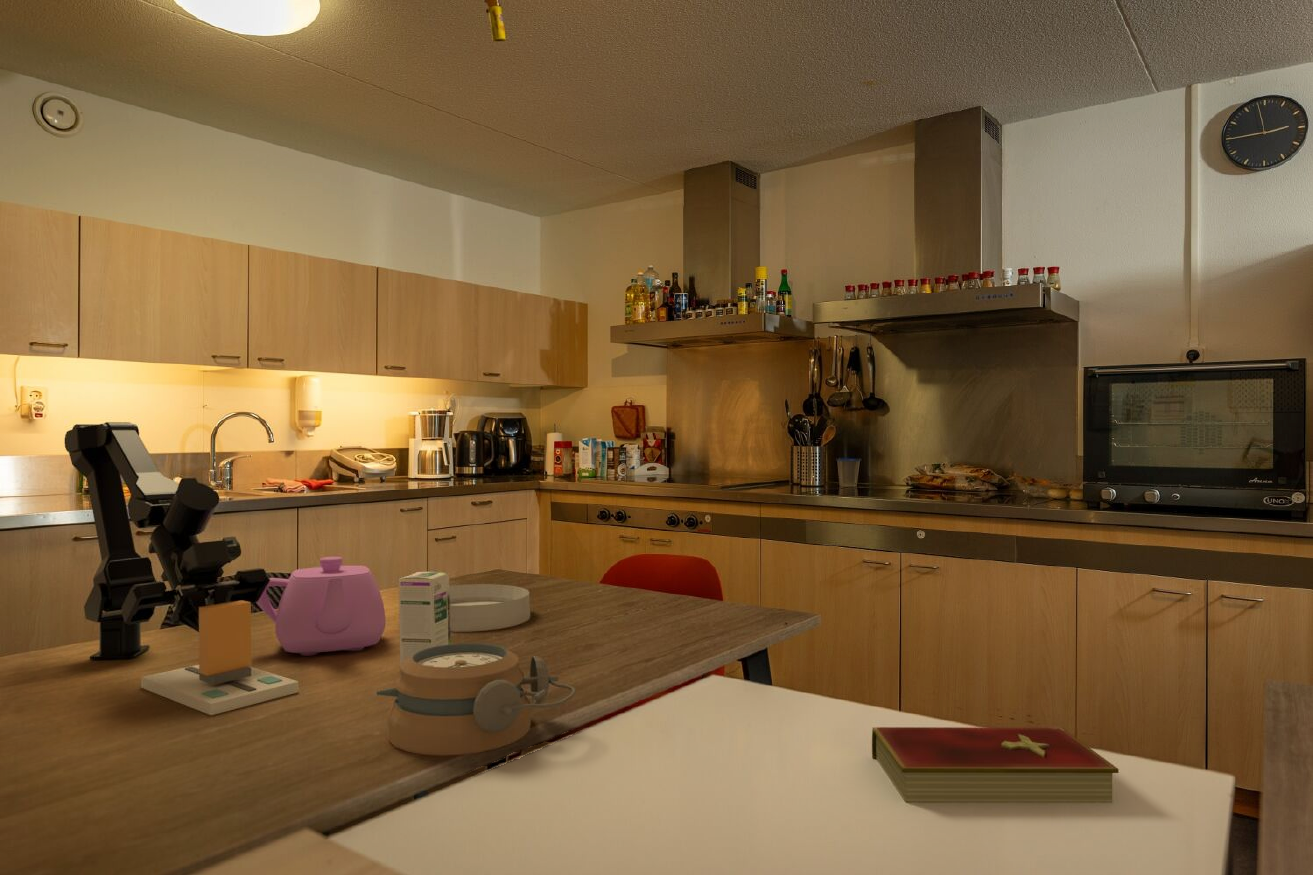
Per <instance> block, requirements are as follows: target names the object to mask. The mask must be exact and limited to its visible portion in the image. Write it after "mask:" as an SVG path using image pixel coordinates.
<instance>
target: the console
mask: <svg viewBox="0 0 1313 875" xmlns="http://www.w3.org/2000/svg"><path fill="white" fill-rule="evenodd" d="M249 667H251V676H249V677H245V678H241V679H237V680H232V681H228V682H224V683H220V684H216V685H213V684H210V683H207V682H204V681H201V680H199V664H195V665H191V666H186V667H181V668H177V669H173V670H167V671H163V672H159V673H153V674H149V675H145V676H140V688H141V689H144V690H146V691H149V692H151V693H154V694H156V695H159V696H161V697H164V698H167V699H169V700H171V701H174V702H176V703H179V704H182V705H184V706H186V707H188V708H191V709H194V710H197V711H199V712H202V713H204V714H206V715H208V716H209V715H210V716H214V715H217V714H218V715H219V714H222V713H226V712H230V711H232V710H236V709H241V708H245V707H248V706H251V705H255V704H259V703H263V702H267V701H270V700H274V699H278V698H282V697H285V696H290V695H293V694H297V693H299V680H294V679H291V678H288V677H284V676H282V675H279V674H275V673H273V672H270V671H265V670H262V669H261V668H260V669H259V668H257V667H253V666H249Z"/></svg>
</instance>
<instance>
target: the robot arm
mask: <svg viewBox="0 0 1313 875" xmlns="http://www.w3.org/2000/svg"><path fill="white" fill-rule="evenodd" d="M64 448H65V450H66V451H67V453H68V454H69V457H70V462H71V465H72V467H74V468H75V469H76V470H77V471H78V472H79V473H81V475H82V476H83V477H84V478H86V482H87V487H88V494H89V499H90V504H91V509H92V516H93V519H94V525H95V526H94V527H95V532H96V536H97V541H98V548H99V551H100V552H99V553H100V556H101V557H100V558H101V561H100V564H99V566H98V568H97V570H96V571H95V574H94V576H93V580H92V583H93V586H92V588H91V591H90V592H89V595H88V597H87V599H86V602H85V603H84V606H83V609H84V616H85V619H86V620H88V621H90V622H94V623H99V625H98V626H99V627H98V628H99V631H98V632H99V634H98V635H99V636H98V637H99V638H98V639H99V648H98V649H99V651H97V652H95V653H94V654H91V655H90V656H89V660H105V659H106V660H107V659H108V660H109V659H111V660H115V659H131V658H135V657H136V656H138V655H141V654H143V653H144V652H146V651H147V650H149V649H150V647H151V646H150V645H149V644H148V645H145V644H144V645H142V634H141V633H142V624H141V623H146V622H147V623H148V622H150V620H151V618H153V616H154V614H155V609H157V608H163V607H164V608H165V607H169V606H170V608H171V609H172V611H173V612H172V614H171V616H170V620H171V621H172V622H179V623H181V624H183V625H184V626H187V627H188V628H190V629H192V630H194V631H196V632H197V633H199V607H204V606H210V605H216V604H222V603H228V602H234V601H241V600H243V601H247V602H251V605H254V604H255V603H256V602H257V601H258V600H259V599H260V597H261V595H262V593H263V592H264V590H265V588H266V587H267V585H268V583H269V581H270V578H271V577H270V576H269V574H268V572H267V571H266V570H265V569H264V568H262V567H261V568H260V567H258V568H250V569H241V570H237V571H236V573H235V575H234V577H233V579H232V580H226V581H218V578H221V577H223V575H224V569H223V567H225V566H226V565H227V564H230V563H232V561H235V560H237V559H238V558H240V557H241V555H242V548H241V545H240V543H239V541H238V539H237V537H236V536H235V535H234V536H228V537H223V538H222V539H221V540H213V541H202V542H200V541H199V538H198V536H197V535H199V534H202V533H203V532H205V530H206V528H207V526H208V524H209V522H210V521H211V520H212V519H211V518H212V516H213V514H214V513H215V511H216V509H217V507H218V505H219V503H220V495H219V493H218V492H217V491H216V490H214V488H212V487H210V486H209V485H207V484H205V483H202V482H199V481H198V480H197V478H196V477H181V478H180V481H179V483H178V482H177V481H175V480H173V479H170V478H168V477H166V476H164V475H163V474H162V473H161V470H160V469H159V468H158V465H157V464H156V463H155V461H154V459H153V457H152V456H151V454H150V452H149V450H148V449H147V447H146V446H145V444H144V442H143V439H142V438H141V437H140V430H139V426H138V425H137V424H136V423H132V422H129V421H127V422H125V421H123V422H121V421H119V422H118V421H117V422H116V421H106V422H104V423H99V424H88V423H86V424H85V423H84V424H83V423H82V424H77V423H76V424H75V425H73V426H72V429H70V430H67V431H66V433H65V435H64ZM122 480H123V481H124V483H125V486H126V487H127V489H128V491H129V494H130V497H129V499H128V502H127V501H126V496H125V492H124V487H123V486H124V485H123V481H122ZM126 502H127V503H126ZM130 521H131V522H133V524H134V525H135V527H137V528H138V529H150V528H152V529H153V528H154V529H153V531H152V533H151V534H150V537H149V541H150V543H149V545H148V551H147V552H148V554H156V556H157V558H158V561H159V562H160V566H161V568H162V570H163V571H162V574H160V577H161V578H160V579H161V580H162V581H161V580H160V581H157V579H156V578H155V575H154V572H153V565H152V561H151V559H150V558H149V557H148V556H143V557H142V556H141V555H140V554H139V553H138V552H137V551H136V546H135V543H134V536H133V532H132V528H131V522H130ZM165 582H168V584H169V586H170V589H171V590H167V589H168V588H167V585H166V583H165Z"/></svg>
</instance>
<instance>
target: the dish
mask: <svg viewBox="0 0 1313 875" xmlns="http://www.w3.org/2000/svg"><path fill="white" fill-rule="evenodd" d="M449 594H450V632H457V633H458V632H459V633H460V632H462V633H465V632H481V631H492V630H499V629H504V628H510V627H515V626H517V625H520V624H523V623H525V622H527V621H528V620H530V618H531V605H530V591H529V590H528V589H527V588H524V587H520V586H515V585H509V584H508V585H507V584H494V583H476V584H474V583H472V584H471V583H470V584H459V585H458V584H457V585H449Z"/></svg>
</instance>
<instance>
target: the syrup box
mask: <svg viewBox="0 0 1313 875" xmlns="http://www.w3.org/2000/svg"><path fill="white" fill-rule="evenodd" d="M449 586H450V573H449V572H443V571H416V572H415V573H411V574H410V575H407V576H404V577H400V578H399V579H398V612H399V613H398V620H399V621H398V623H399V624H398V625H399V628H398V629H399V666H400V665H401V664H402V662H403V661H405V660H406V659H408V658H409V657H411V656H412V655H414V654H416V653H417V652H419V651H422V650H424V649H427V648H431V647H436V646H441V645H448V644H451V631H450V594H449Z"/></svg>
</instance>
